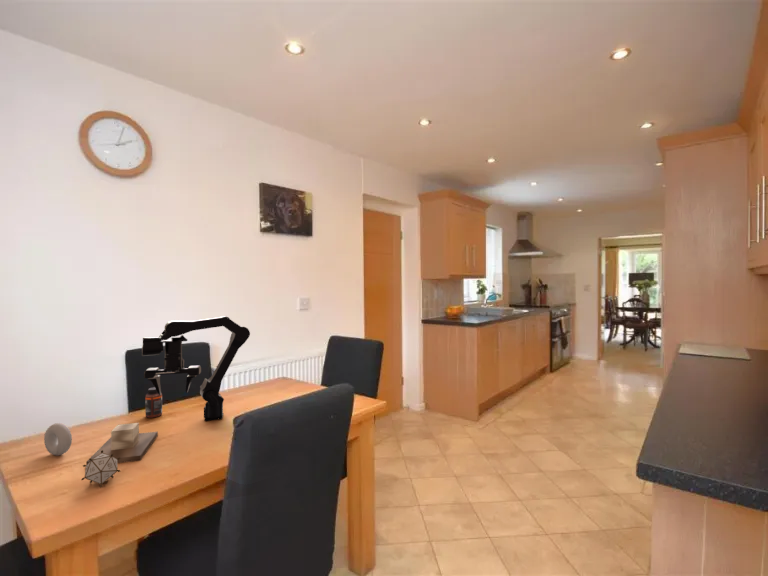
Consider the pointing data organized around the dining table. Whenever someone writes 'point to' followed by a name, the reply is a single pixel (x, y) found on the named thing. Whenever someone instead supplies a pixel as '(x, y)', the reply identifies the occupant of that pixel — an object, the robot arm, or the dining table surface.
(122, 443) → the maple cube
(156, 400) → the supplement bottle
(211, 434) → the dining table surface
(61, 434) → the donut
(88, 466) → the game die
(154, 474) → the dining table surface
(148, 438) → the walnut board
